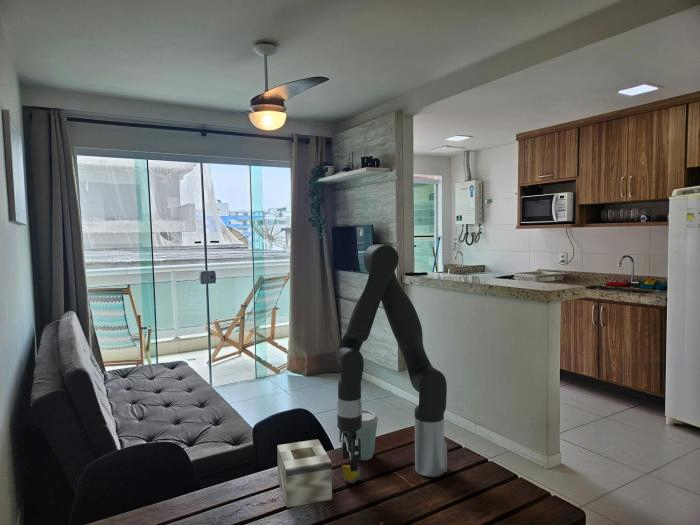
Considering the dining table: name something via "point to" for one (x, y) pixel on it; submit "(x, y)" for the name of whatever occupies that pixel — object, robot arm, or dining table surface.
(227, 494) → the dining table surface
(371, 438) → the disposable coffee cup
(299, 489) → the socket block
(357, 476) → the drill bit
